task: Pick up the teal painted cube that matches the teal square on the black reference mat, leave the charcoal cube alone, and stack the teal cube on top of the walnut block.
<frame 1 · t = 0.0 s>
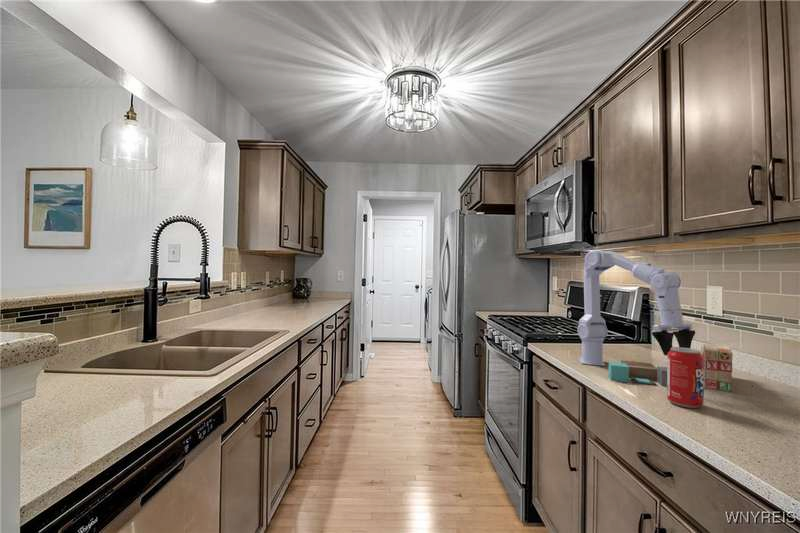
hand: (677, 354, 111), 11 cm above the counter, tool pointing down, fingers open, 7 cm apart
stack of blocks: (715, 382, 119), on the counter
walnut block: (638, 376, 125), on the counter
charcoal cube: (668, 384, 116), on the counter
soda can: (684, 405, 99), on the counter
teal cube: (618, 379, 121), on the counter
reference mat: (642, 381, 118), on the counter
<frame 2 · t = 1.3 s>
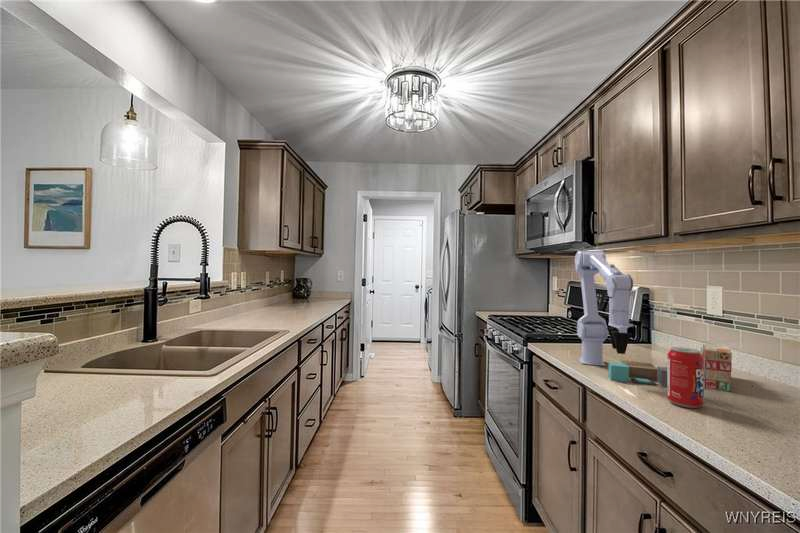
hand: (618, 351, 121), 9 cm above the counter, tool pointing down, fingers open, 7 cm apart
nothing on the counter moved.
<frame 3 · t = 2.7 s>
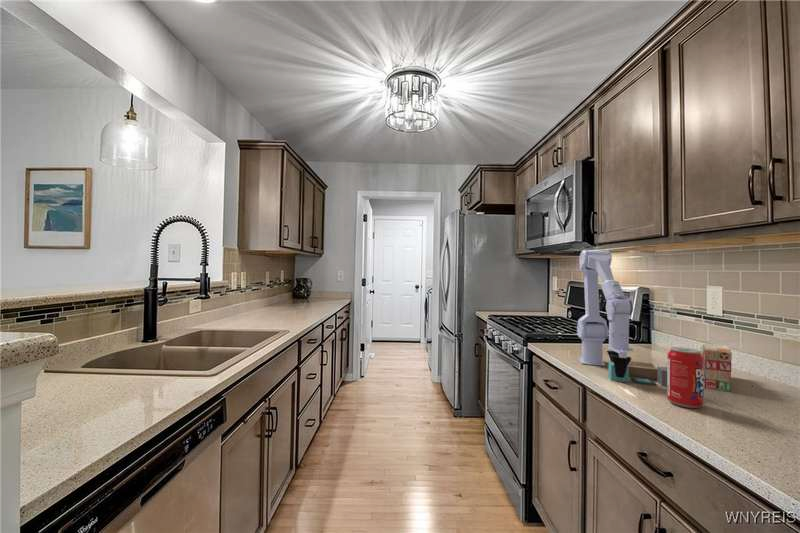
hand: (618, 374, 121), 1 cm above the counter, tool pointing down, fingers closed on teal cube, 5 cm apart
teal cube: (618, 379, 121), on the counter, touching gripper
everything else where it was.
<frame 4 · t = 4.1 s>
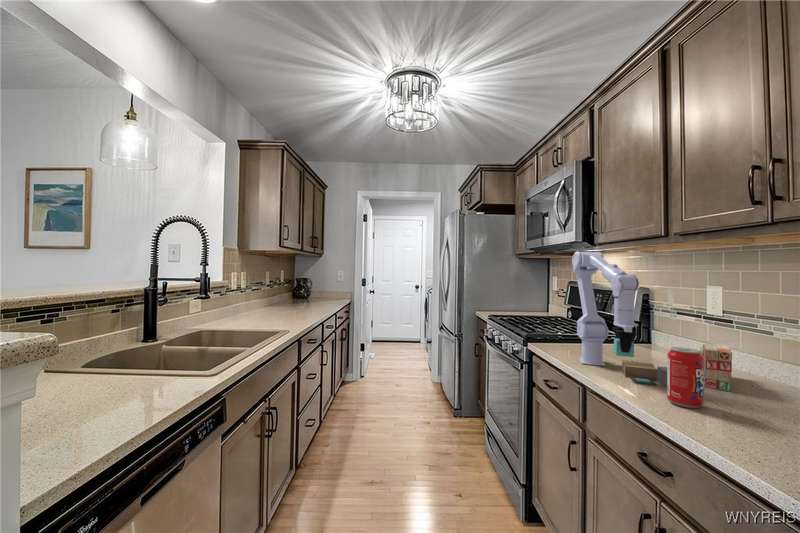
hand: (623, 350, 122), 9 cm above the counter, tool pointing down, fingers closed on teal cube, 5 cm apart
teal cube: (623, 354, 122), point 8 cm above the counter, touching gripper
everything else where it was.
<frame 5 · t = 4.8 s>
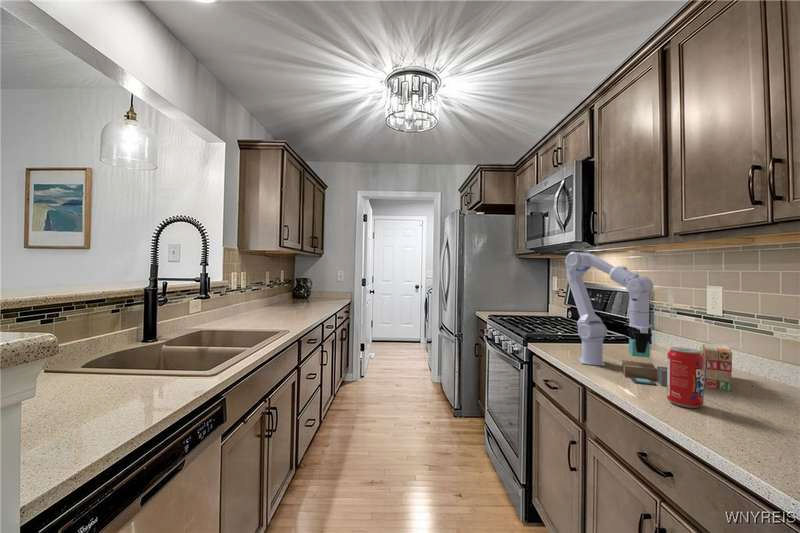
hand: (638, 350, 126), 8 cm above the counter, tool pointing down, fingers closed on teal cube, 5 cm apart
teal cube: (639, 355, 125), point 7 cm above the counter, touching gripper
everything else where it was.
when the fingers open (7 cm above the counter, at t = 5.5 s): teal cube drops 2 cm, point 4 cm above the counter.
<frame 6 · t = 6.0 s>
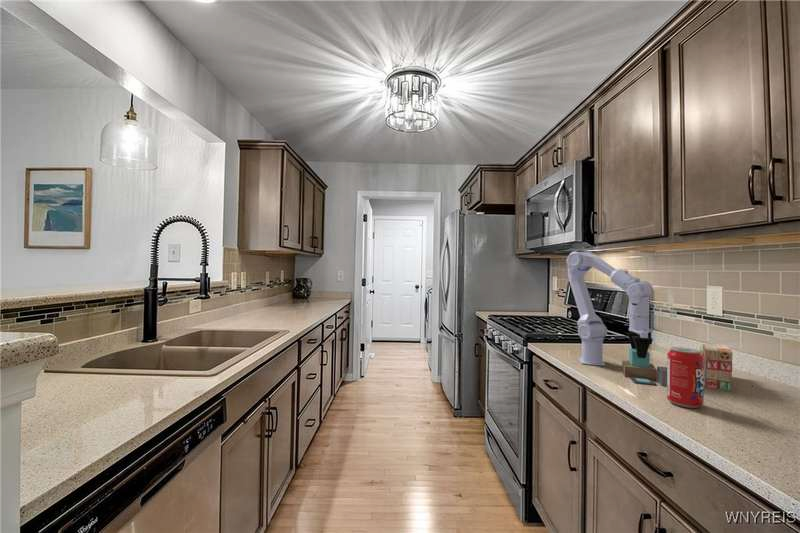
hand: (638, 355, 126), 7 cm above the counter, tool pointing down, fingers open, 7 cm apart
teal cube: (639, 365, 125), point 4 cm above the counter
everything else where it was.
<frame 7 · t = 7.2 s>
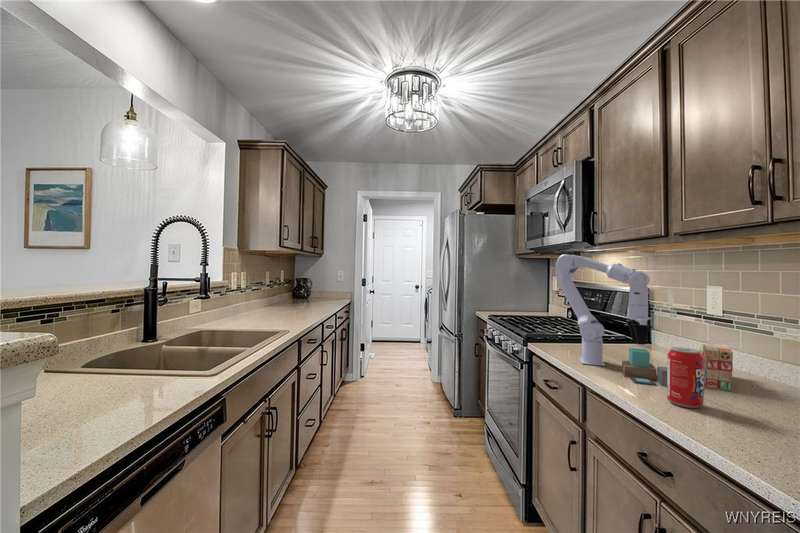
hand: (638, 342, 131), 10 cm above the counter, tool pointing down, fingers open, 7 cm apart
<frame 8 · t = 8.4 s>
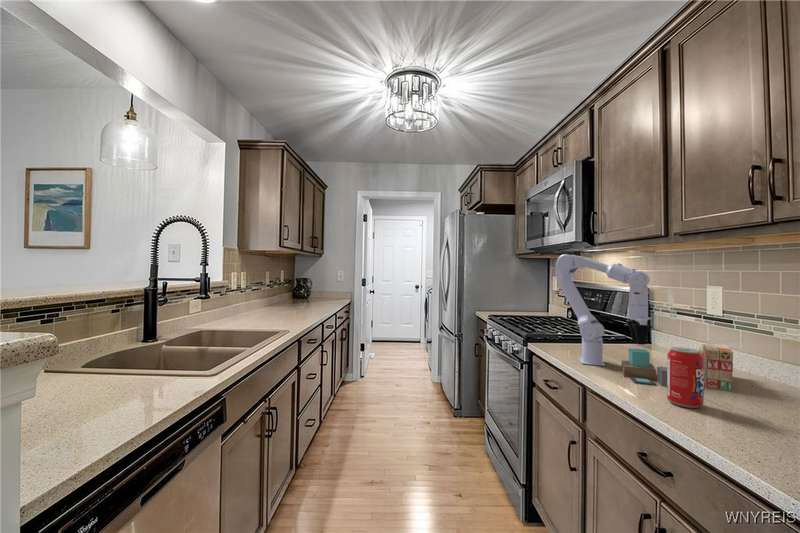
hand: (638, 342, 131), 10 cm above the counter, tool pointing down, fingers open, 7 cm apart
walnut block: (637, 376, 126), on the counter, touching teal cube
teal cube: (638, 364, 126), point 4 cm above the counter, touching walnut block
at the end: teal cube 0.3 cm off-centre on the walnut block, point 4.0 cm above the walnut block's base; teal cube tilted 0°; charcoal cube moved 0.1 cm from its start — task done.
